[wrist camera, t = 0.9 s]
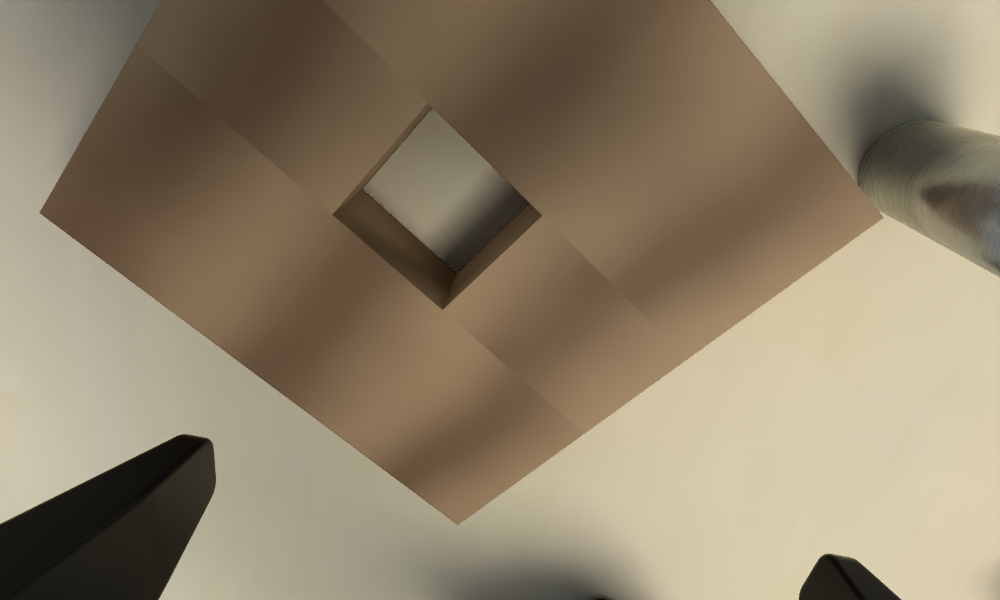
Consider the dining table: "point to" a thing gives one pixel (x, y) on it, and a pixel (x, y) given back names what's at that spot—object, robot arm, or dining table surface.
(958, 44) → the dining table surface
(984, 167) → the peg
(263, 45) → the socket block
